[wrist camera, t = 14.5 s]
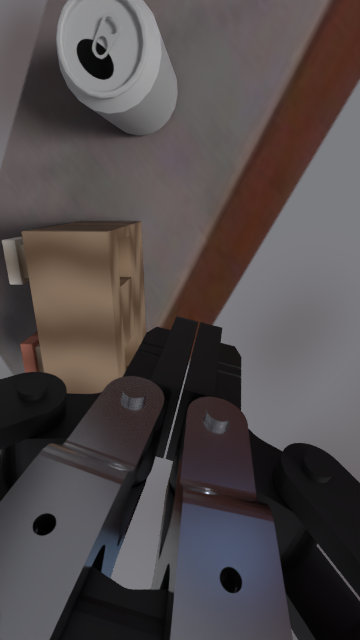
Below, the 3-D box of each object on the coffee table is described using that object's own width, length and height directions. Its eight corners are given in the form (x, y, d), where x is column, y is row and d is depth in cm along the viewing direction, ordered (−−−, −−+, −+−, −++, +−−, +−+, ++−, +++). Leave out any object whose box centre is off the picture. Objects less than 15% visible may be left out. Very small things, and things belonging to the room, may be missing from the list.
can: (89, 101, 34) (24, 53, 22) (133, 28, 31) (85, -68, 20) (147, 153, 35) (112, 132, 24) (194, 87, 32) (181, 28, 21)
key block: (80, 221, 38) (21, 231, 27) (141, 221, 37) (107, 231, 26) (93, 350, 43) (49, 404, 32) (146, 353, 43) (120, 408, 31)
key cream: (26, 235, 33) (1, 240, 30) (116, 236, 32) (102, 241, 29) (32, 275, 35) (9, 284, 31) (119, 276, 34) (106, 286, 30)
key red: (40, 329, 37) (20, 343, 33) (122, 332, 36) (111, 347, 32) (45, 361, 38) (26, 379, 34) (124, 365, 37) (113, 384, 33)
